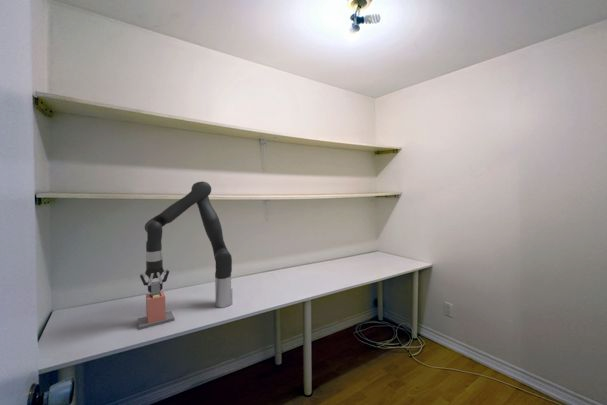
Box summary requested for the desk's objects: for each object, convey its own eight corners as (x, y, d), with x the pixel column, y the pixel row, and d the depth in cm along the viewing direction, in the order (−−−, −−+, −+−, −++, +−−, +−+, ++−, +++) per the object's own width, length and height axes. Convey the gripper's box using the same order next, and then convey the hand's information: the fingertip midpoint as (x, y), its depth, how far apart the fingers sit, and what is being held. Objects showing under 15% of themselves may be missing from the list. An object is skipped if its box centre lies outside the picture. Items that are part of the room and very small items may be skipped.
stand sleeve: (171, 313, 152) (170, 287, 151) (174, 320, 144) (173, 293, 143) (137, 321, 143) (136, 293, 142) (139, 329, 135) (138, 300, 134)
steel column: (159, 314, 146) (158, 281, 145) (161, 317, 143) (160, 283, 141) (151, 316, 144) (150, 282, 142) (152, 320, 140) (151, 285, 139)
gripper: (168, 255, 148) (169, 286, 149) (137, 259, 140) (138, 291, 141) (170, 258, 142) (171, 290, 143) (138, 263, 134) (140, 296, 135)
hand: (155, 291), depth 142 cm, fingers closed on steel column, 4 cm apart
